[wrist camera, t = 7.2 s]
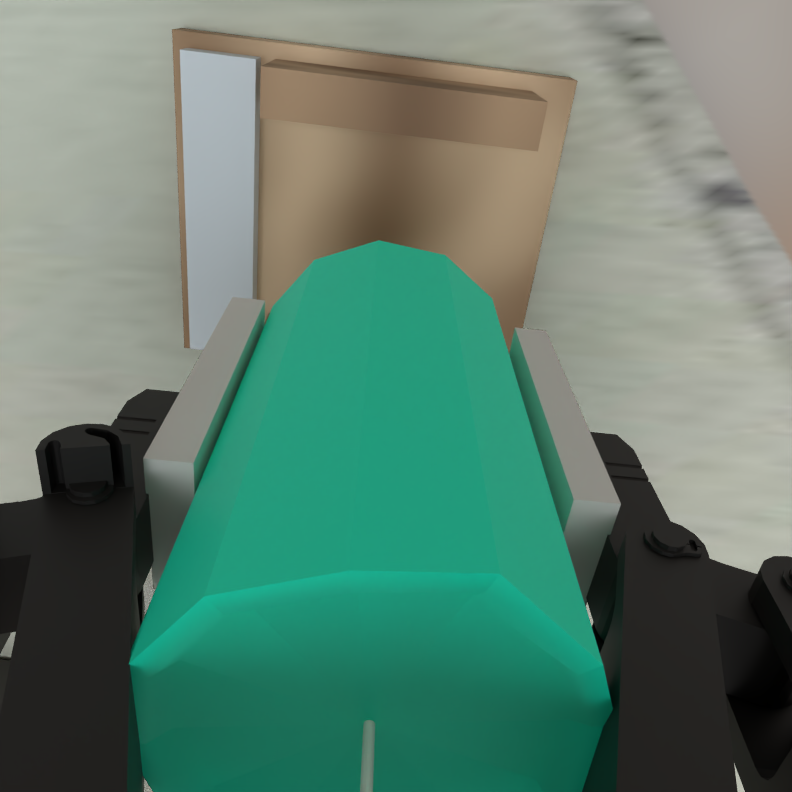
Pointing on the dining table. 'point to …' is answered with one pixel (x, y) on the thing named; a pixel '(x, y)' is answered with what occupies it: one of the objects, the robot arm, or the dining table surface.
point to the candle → (372, 562)
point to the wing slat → (219, 182)
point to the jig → (395, 162)
